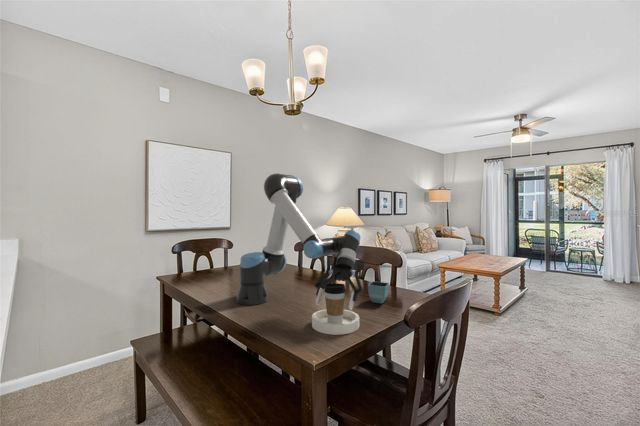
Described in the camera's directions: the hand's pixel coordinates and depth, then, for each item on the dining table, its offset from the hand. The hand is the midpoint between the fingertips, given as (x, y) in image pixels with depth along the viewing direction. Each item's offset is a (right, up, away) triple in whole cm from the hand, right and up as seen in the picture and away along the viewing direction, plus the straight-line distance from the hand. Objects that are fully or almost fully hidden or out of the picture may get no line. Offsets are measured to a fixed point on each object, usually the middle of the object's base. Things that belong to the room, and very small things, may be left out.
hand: (333, 306), depth 120 cm
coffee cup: (+1, -7, +2) cm, 8 cm away
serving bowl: (+1, -8, +2) cm, 8 cm away
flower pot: (+24, -8, +33) cm, 41 cm away
